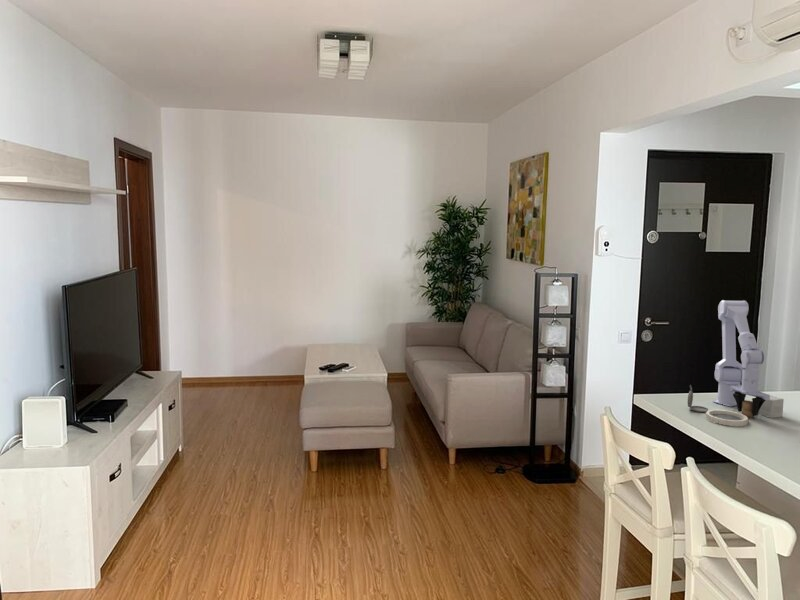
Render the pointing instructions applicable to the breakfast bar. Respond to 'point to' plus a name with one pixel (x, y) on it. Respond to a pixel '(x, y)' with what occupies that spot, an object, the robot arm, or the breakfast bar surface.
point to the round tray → (727, 417)
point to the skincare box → (772, 407)
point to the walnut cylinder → (747, 408)
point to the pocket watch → (694, 408)
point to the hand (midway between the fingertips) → (747, 413)
